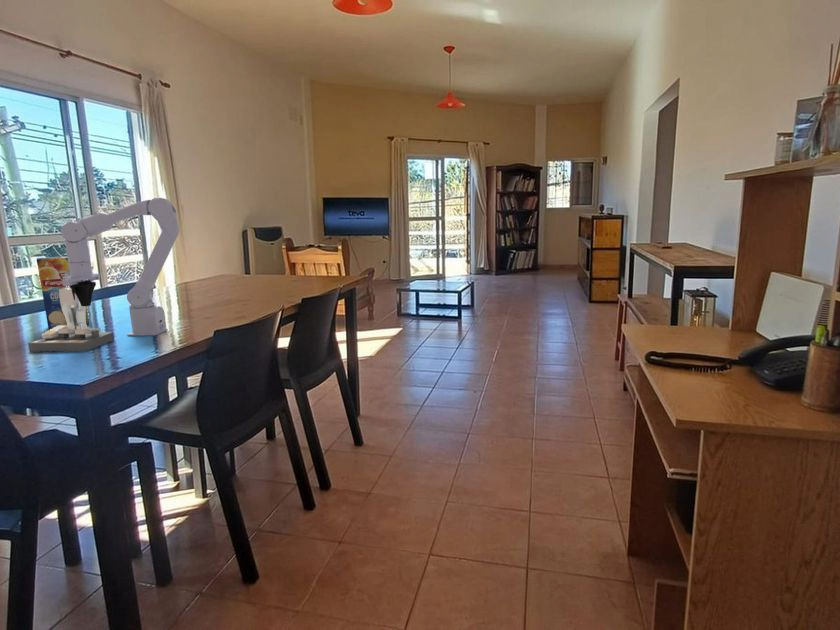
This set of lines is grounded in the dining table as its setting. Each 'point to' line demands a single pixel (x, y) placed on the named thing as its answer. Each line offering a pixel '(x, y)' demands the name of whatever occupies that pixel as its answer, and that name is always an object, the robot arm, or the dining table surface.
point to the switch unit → (71, 342)
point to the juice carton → (54, 288)
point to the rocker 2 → (85, 331)
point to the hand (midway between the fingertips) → (86, 305)
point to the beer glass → (72, 309)
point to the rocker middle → (67, 331)
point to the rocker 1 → (53, 331)
